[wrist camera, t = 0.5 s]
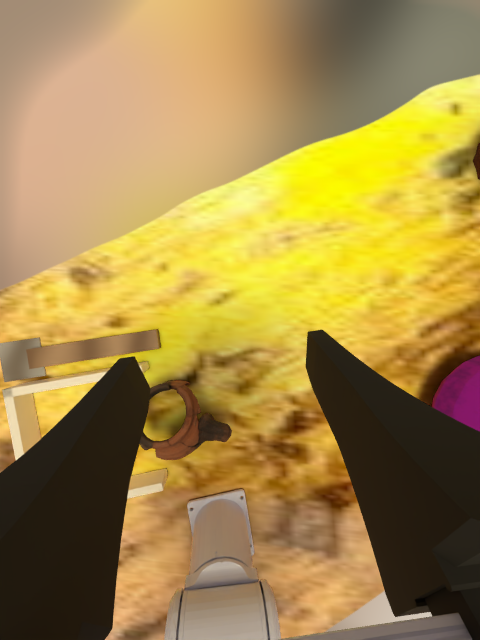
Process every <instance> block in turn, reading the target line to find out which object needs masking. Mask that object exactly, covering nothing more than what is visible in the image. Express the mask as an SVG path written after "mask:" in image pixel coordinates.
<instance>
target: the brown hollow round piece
mask: <svg viewBox="0 0 480 640" xmlns="http://www.w3.org/2000/svg"><path fill="white" fill-rule="evenodd" d="M186 385H190V383H189V382H187V381H182V380H174V381H173V380H170V381H167V382H165V383H163V384H159V385H157V386H154V387H152V388H151V390H150V399H151V398H152V397H153V396H154V395H156V394H157V393H159V392H162V391H166V390H170V389H175V390H177V393H178V394H180V395H181V397H182V398H183V399H184V402H185V405H186V418H185V421H184V424H183V425H182V427H181V429H180V430H179V431H178V432H177V433H176V434H175V435H174V436H173V437H171V438H170V439H167V440H165V441H153V440H150V439H149V438H147V437H146V435H145V434H144V433H143V432H142V436H141V440H140V445H141V447H142V448H143V449H144V450H148V449H150V448H153V449H156V457H158V458H161V459H164V460H177V459H180V458H183V457H185V456H186V455H188V454H190V453H191V452H193V451H194V450H195V449H197V448H198V447H199V446H200V445H201V444H202V443H203V442H204V441H214V440H217V441H222V442H226V441H227V440H228V439H229V437H230V436H231V432H232V430H231V428H230V426H229V425H228V424H225V423H221V422H217V421H216V420H215V419H214V418H213V416H212V415H211V414H209V413H205V414H204V415H202V416H201V418H200V419H199V421H198V419H197V414H199V413H201V409H200V407H199V404H198V401H197V399H196V397H195V396H194V394H193V392H192V391H191V390H190V389H189V388H188V387H187V386H186ZM150 399H149V400H150Z"/></svg>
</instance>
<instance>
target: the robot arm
mask: <svg viewBox="0 0 480 640" xmlns="http://www.w3.org/2000/svg"><path fill="white" fill-rule="evenodd" d="M306 369H307V373H308V376H309V379H310V382H311V385H312V388H313V391H314V393H315V395H316V397H317V399H318V402H319V404H320V406H321V408H322V410H323V413H324V415H325V417H326V419H327V421H328V423H329V426H330V428H331V430H332V432H333V434H334V436H335V439H336V441H337V443H338V446H339V448H340V451H341V454H342V456H343V459H344V462H345V465H346V468H347V471H348V474H349V476H350V479H351V482H352V485H353V488H354V491H355V494H356V497H357V500H358V503H359V506H360V510H361V513H362V516H363V519H364V522H365V525H366V529H367V532H368V535H369V538H370V541H371V545H372V548H373V552H374V555H375V558H376V562H377V565H378V568H379V572H380V575H381V579H382V582H383V586H384V589H385V593H386V596H387V598H388V601H389V604H390V606H391V609H392V611H393V614H394V616H395V617H398V616H404V615H411V614H418V613H424V612H431V614H432V617H426V618H419V619H412V620H405V621H398V622H393V623H385V624H378V625H371V626H365V627H358V628H351V629H345V630H338V631H332V632H324V633H317V634H311V635H304V636H297V637H290V638H284V639H281V634H280V626H279V619H278V613H277V607H276V602H275V597H274V593H273V590H272V588H271V587H270V585H269V584H268V583H267V581H266V580H265V579H262V580H260V582H258V574H257V569H256V568H253V563H252V555H254V546H253V540H252V534H251V528H250V522H249V516H248V510H247V504H246V498H245V492H244V490H243V489H239V490H234V491H230V492H226V493H221V494H217V495H213V496H208V497H204V498H200V499H195V500H191V501H189V502H188V504H187V508H188V514H189V519H190V525H191V531H192V537H193V541H192V550H191V560H190V569H189V575H186V580H185V590H184V591H183V588H182V589H177V591H176V593H175V594H174V596H173V597H172V599H171V601H170V604H169V609H168V615H167V621H166V629H165V638H164V640H480V431H477V430H475V429H473V428H471V427H469V426H467V425H465V424H463V423H461V422H459V421H457V420H455V419H453V418H452V417H450V416H448V415H446V414H444V413H442V412H440V411H438V410H436V409H435V408H433V407H431V406H429V405H427V404H426V403H424V402H422V401H420V400H419V399H417V398H415V397H414V396H412V395H410V394H409V393H407V392H405V391H404V390H402V389H400V388H399V387H397V386H396V385H394V384H393V383H391V382H390V381H388V380H387V379H385V378H384V377H382V376H381V375H379V374H378V373H377V372H375V371H374V370H372V369H371V368H370V367H368V366H367V365H366V364H364V363H363V362H362V361H360V360H359V359H358V358H356V357H355V356H354V355H353V354H351V353H350V352H349V351H348V350H346V349H345V348H344V347H343V346H341V345H340V344H339V343H338V342H337V341H335V340H334V339H333V338H332V337H331V336H329V335H328V334H327V333H326V332H325V331H323V330H317V331H310V332H308V336H307V353H306ZM150 390H151V389H150V387H149V385H148V383H147V381H146V379H145V377H144V374H143V372H142V370H141V368H140V366H139V364H138V362H137V360H136V358H135V356H134V357H127V358H120V359H119V360H118V361H117V362H116V363H115V364H114V365H113V366H112V367H111V368H110V369H109V370H108V371H107V373H106V374H105V375H104V376H103V377H102V378H101V379H100V380H99V381H98V382H97V383H96V385H95V386H94V387H93V388H92V389H91V390H90V391H89V392H88V393H87V394H86V395H85V396H84V397H83V398H82V399H81V401H80V402H79V403H78V404H77V405H76V406H75V407H74V408H73V409H72V410H71V411H70V412H69V413H68V414H67V415H66V416H65V417H64V418H63V419H62V420H61V421H59V422H58V423H57V424H56V425H55V426H54V427H53V428H52V429H51V430H50V431H49V432H48V433H47V434H46V435H45V436H44V437H43V438H41V439H40V440H39V441H38V442H37V443H36V444H35V445H34V446H32V447H31V448H30V449H29V450H28V451H27V452H26V453H24V454H23V455H22V456H21V457H20V458H18V459H17V460H16V461H15V462H14V463H12V464H11V465H10V466H8V467H7V468H6V469H5V470H3V471H2V472H1V473H0V640H105V638H106V637H107V636H108V634H109V633H110V631H111V629H112V625H113V612H114V600H115V589H116V578H117V569H118V560H119V552H120V543H121V536H122V529H123V522H124V515H125V508H126V502H127V496H128V490H129V484H130V479H131V474H132V470H133V466H134V462H135V458H136V455H137V451H138V447H139V444H140V440H141V436H142V432H143V429H144V425H145V421H146V417H147V413H148V406H149V399H150ZM241 496H243V497H242V498H241ZM190 508H193V509H190ZM250 544H251V545H250Z"/></svg>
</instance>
